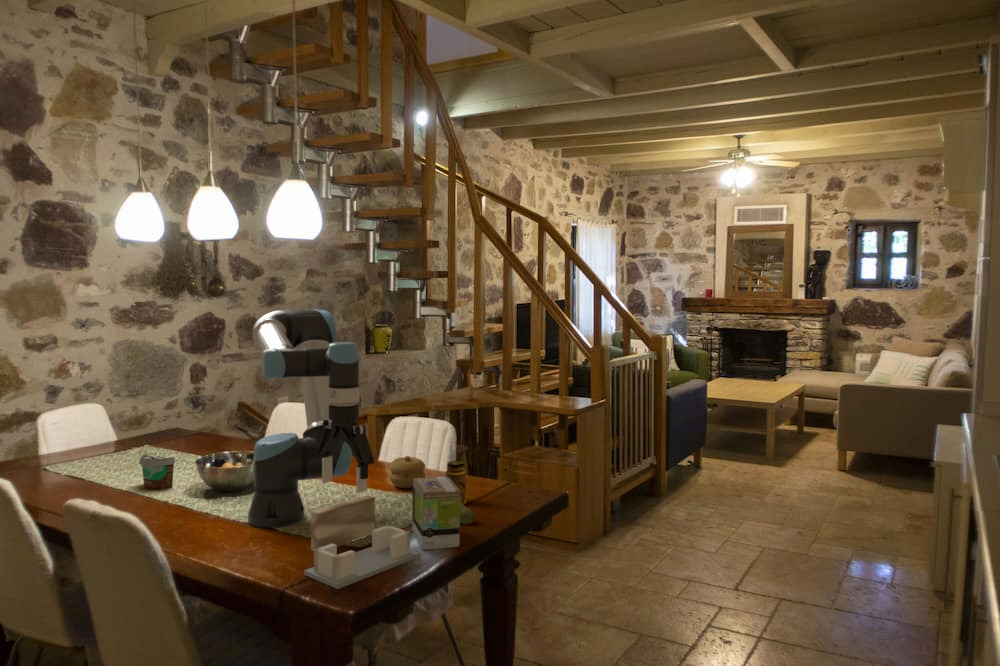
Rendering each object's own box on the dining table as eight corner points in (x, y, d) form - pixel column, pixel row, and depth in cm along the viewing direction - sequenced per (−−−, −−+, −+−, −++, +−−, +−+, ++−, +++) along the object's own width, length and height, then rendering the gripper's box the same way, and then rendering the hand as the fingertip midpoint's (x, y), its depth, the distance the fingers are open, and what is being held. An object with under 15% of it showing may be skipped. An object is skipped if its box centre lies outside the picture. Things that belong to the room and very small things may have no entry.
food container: (130, 488, 236) (130, 457, 235) (146, 483, 241) (146, 452, 240) (160, 492, 231) (159, 461, 230) (175, 487, 237) (175, 456, 236)
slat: (311, 550, 185) (311, 510, 184) (367, 532, 199) (367, 495, 198) (318, 553, 183) (318, 513, 182) (374, 534, 197) (374, 497, 196)
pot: (431, 488, 241) (432, 457, 240) (399, 493, 234) (399, 462, 233) (414, 479, 250) (414, 450, 249) (382, 484, 243) (382, 454, 243)
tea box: (461, 547, 188) (461, 489, 187) (421, 551, 185) (422, 492, 184) (448, 528, 202) (448, 474, 201) (411, 531, 199) (411, 476, 198)
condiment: (470, 502, 226) (471, 463, 225) (446, 506, 221) (446, 467, 220) (458, 496, 232) (459, 458, 231) (434, 500, 227) (434, 461, 226)
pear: (451, 495, 213) (480, 507, 208) (449, 513, 214) (477, 525, 209) (439, 500, 208) (468, 512, 203) (437, 518, 209) (465, 530, 204)
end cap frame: (303, 574, 169) (303, 548, 169) (386, 545, 189) (386, 522, 188) (337, 589, 162) (337, 562, 161) (420, 556, 181) (420, 532, 181)
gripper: (301, 400, 193) (302, 480, 194) (364, 411, 177) (365, 498, 179) (325, 397, 199) (325, 475, 200) (388, 407, 183) (388, 492, 184)
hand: (344, 486), depth 189 cm, fingers open, 13 cm apart
